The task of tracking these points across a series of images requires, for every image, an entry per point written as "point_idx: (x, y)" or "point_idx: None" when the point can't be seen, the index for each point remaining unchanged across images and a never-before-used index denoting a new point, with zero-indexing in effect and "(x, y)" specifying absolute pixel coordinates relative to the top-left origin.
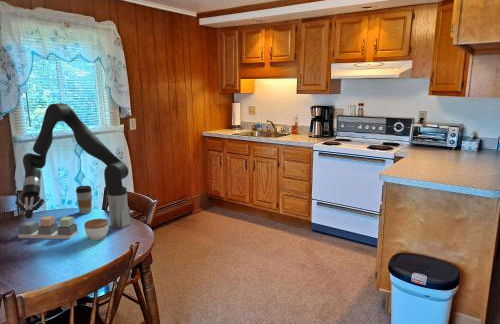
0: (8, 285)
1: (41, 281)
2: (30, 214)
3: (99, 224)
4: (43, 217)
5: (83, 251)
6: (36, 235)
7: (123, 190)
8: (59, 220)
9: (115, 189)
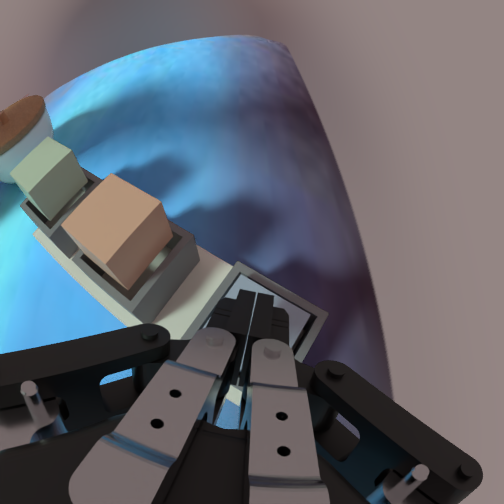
0: (281, 48)
1: (225, 42)
2: (228, 309)
3: (17, 104)
4: (126, 237)
5: (108, 98)
6: (212, 254)
7: None
8: (72, 152)
9: None
